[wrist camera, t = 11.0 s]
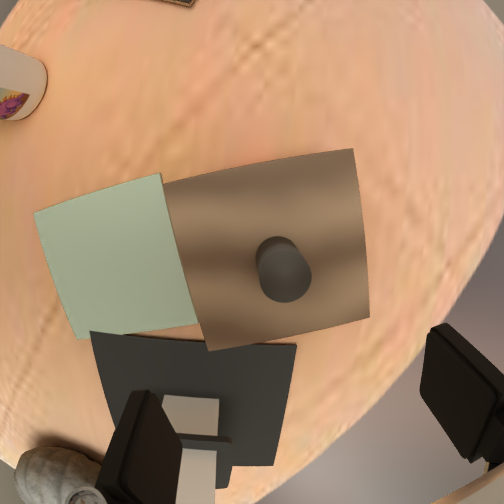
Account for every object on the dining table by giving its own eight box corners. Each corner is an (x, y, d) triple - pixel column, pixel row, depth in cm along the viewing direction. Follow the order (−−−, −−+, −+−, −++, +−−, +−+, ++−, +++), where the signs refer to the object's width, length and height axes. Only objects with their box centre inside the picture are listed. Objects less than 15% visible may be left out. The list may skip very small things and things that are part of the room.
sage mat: (36, 212, 29) (33, 213, 28) (160, 172, 28) (159, 173, 28) (79, 337, 33) (77, 339, 33) (198, 320, 33) (198, 323, 32)
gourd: (35, 411, 34) (7, 502, 18) (169, 469, 43) (168, 554, 28) (20, 448, 41) (4, 511, 26) (119, 492, 50) (114, 553, 35)
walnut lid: (165, 183, 22) (144, 189, 17) (349, 148, 22) (378, 145, 17) (209, 346, 26) (203, 385, 21) (366, 313, 26) (390, 344, 21)
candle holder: (273, 465, 41) (283, 550, 25) (124, 454, 40) (103, 533, 24) (297, 345, 34) (332, 462, 18) (89, 330, 32) (23, 426, 17)
